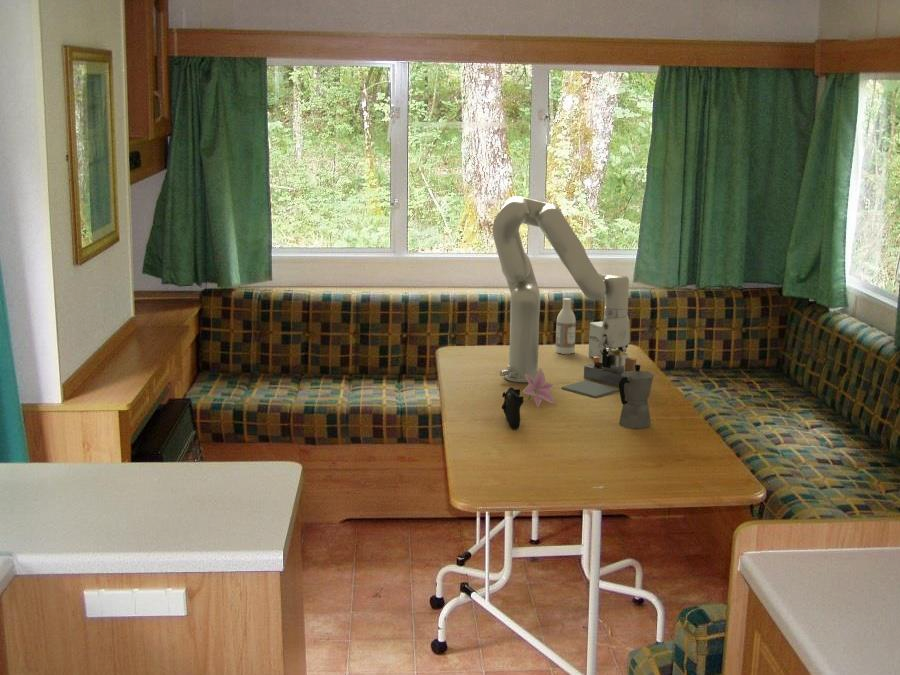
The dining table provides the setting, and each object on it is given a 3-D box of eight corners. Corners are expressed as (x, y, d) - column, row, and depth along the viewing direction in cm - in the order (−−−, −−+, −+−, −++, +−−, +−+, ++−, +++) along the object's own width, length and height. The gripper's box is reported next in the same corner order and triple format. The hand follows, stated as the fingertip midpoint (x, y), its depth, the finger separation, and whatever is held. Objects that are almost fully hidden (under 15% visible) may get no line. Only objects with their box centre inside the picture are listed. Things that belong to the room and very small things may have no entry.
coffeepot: (633, 416, 334) (636, 357, 330) (660, 423, 328) (664, 363, 324) (603, 427, 323) (606, 367, 319) (631, 434, 317) (634, 373, 313)
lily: (515, 410, 342) (528, 386, 337) (510, 386, 352) (523, 363, 347) (550, 419, 346) (564, 396, 341) (544, 395, 355) (557, 372, 350)
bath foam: (564, 355, 405) (566, 301, 401) (551, 351, 411) (553, 298, 406) (578, 353, 409) (580, 299, 404) (565, 349, 415) (567, 296, 410)
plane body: (626, 388, 363) (628, 361, 361) (583, 377, 376) (584, 351, 374) (641, 384, 369) (643, 357, 367) (598, 373, 381) (600, 347, 379)
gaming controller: (498, 416, 333) (498, 383, 331) (518, 415, 333) (519, 383, 331) (503, 430, 319) (504, 397, 317) (524, 430, 320) (525, 396, 317)
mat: (595, 397, 353) (595, 396, 353) (561, 388, 362) (561, 386, 362) (619, 390, 361) (619, 389, 361) (585, 382, 371) (585, 380, 370)
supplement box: (587, 356, 404) (589, 322, 402) (605, 354, 408) (606, 320, 405) (598, 361, 398) (600, 326, 395) (616, 359, 401) (618, 324, 398)
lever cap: (618, 366, 367) (619, 353, 366) (599, 362, 372) (599, 348, 371) (627, 364, 370) (628, 351, 369) (608, 359, 376) (609, 346, 374)
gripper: (608, 318, 359) (605, 372, 363) (641, 310, 370) (638, 363, 374) (590, 314, 364) (587, 367, 368) (623, 307, 376) (620, 359, 380)
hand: (613, 364), depth 371 cm, fingers open, 6 cm apart
